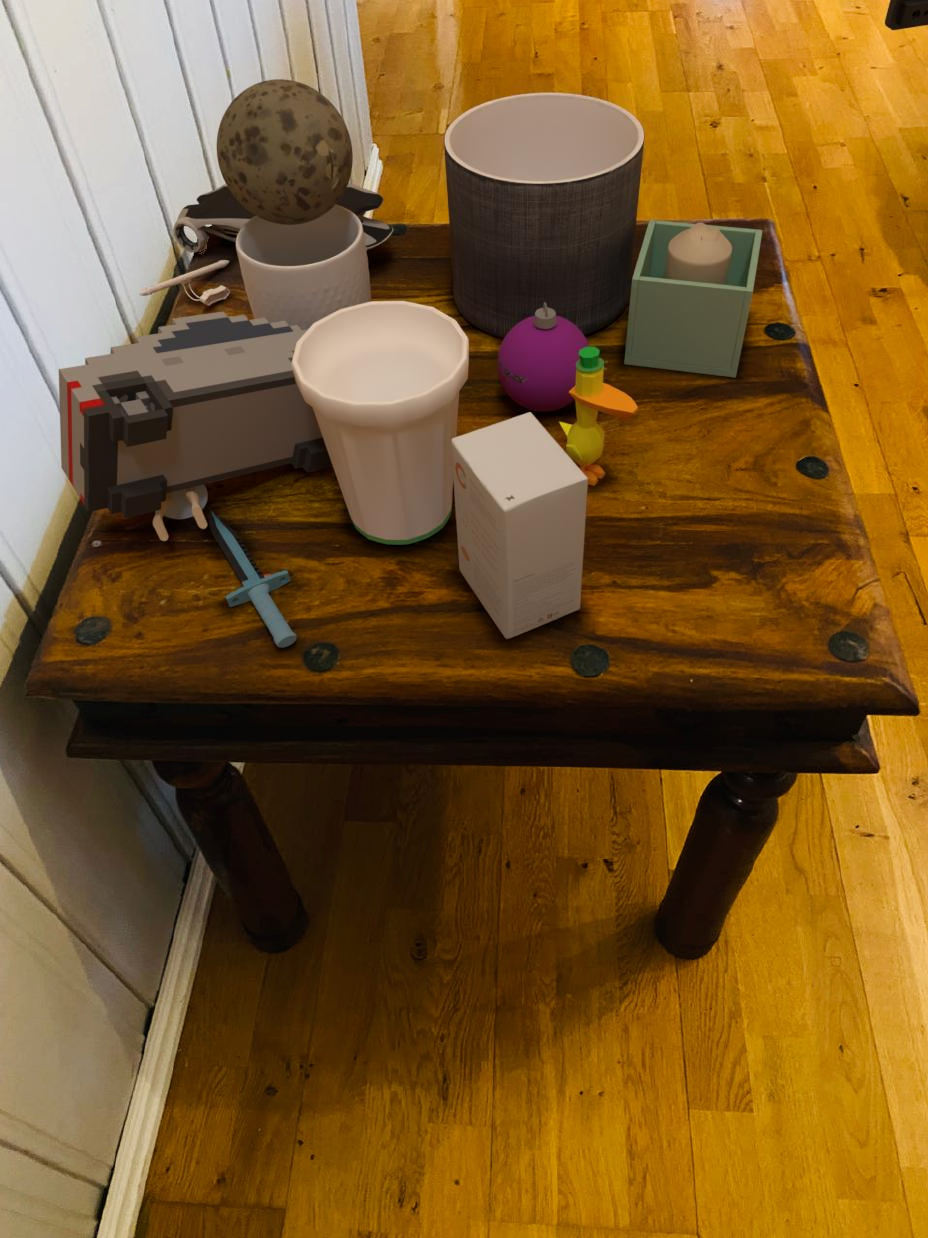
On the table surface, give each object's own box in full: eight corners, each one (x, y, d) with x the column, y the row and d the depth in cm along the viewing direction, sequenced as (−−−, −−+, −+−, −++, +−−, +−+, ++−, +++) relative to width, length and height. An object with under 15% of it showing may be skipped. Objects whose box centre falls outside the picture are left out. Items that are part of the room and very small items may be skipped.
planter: (417, 307, 99) (403, 150, 87) (519, 230, 108) (518, 77, 96) (566, 366, 92) (573, 203, 80) (662, 278, 101) (681, 119, 89)
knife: (179, 515, 81) (236, 492, 82) (183, 526, 81) (239, 503, 83) (256, 649, 70) (320, 620, 71) (260, 660, 71) (323, 631, 72)
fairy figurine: (262, 528, 78) (248, 461, 87) (242, 476, 75) (230, 412, 84) (119, 573, 77) (121, 500, 86) (93, 522, 74) (98, 452, 83)
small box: (582, 610, 73) (591, 478, 63) (505, 642, 71) (503, 511, 61) (529, 541, 78) (531, 408, 68) (457, 569, 76) (447, 437, 66)
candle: (660, 348, 92) (672, 248, 84) (656, 314, 95) (668, 215, 88) (720, 347, 91) (738, 247, 84) (714, 313, 95) (731, 214, 87)
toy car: (388, 371, 79) (325, 296, 83) (97, 429, 66) (38, 337, 70) (364, 458, 85) (307, 385, 89) (96, 525, 72) (43, 436, 76)
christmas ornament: (598, 424, 86) (605, 325, 79) (506, 436, 86) (504, 337, 78) (578, 368, 92) (583, 270, 84) (491, 379, 91) (488, 282, 84)
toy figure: (637, 480, 82) (651, 358, 72) (614, 505, 80) (626, 383, 71) (568, 450, 84) (574, 329, 75) (545, 474, 83) (547, 352, 73)
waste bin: (745, 314, 96) (762, 229, 89) (735, 377, 90) (753, 291, 83) (640, 303, 98) (649, 219, 91) (623, 364, 92) (631, 278, 85)
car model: (159, 222, 105) (176, 267, 109) (355, 231, 96) (366, 280, 99) (218, 178, 112) (231, 222, 115) (406, 183, 102) (415, 230, 106)
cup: (507, 522, 79) (504, 361, 67) (370, 588, 75) (342, 429, 63) (427, 439, 86) (412, 280, 74) (299, 495, 82) (261, 337, 70)
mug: (312, 299, 101) (289, 173, 91) (412, 316, 98) (400, 187, 88) (244, 386, 92) (210, 257, 82) (352, 407, 89) (330, 276, 79)
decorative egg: (350, 253, 80) (302, 225, 92) (389, 113, 77) (334, 103, 89) (220, 210, 75) (187, 187, 87) (255, 57, 71) (216, 55, 83)
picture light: (137, 289, 96) (135, 309, 97) (173, 308, 95) (171, 328, 96) (226, 256, 106) (223, 275, 107) (259, 273, 105) (256, 292, 107)
